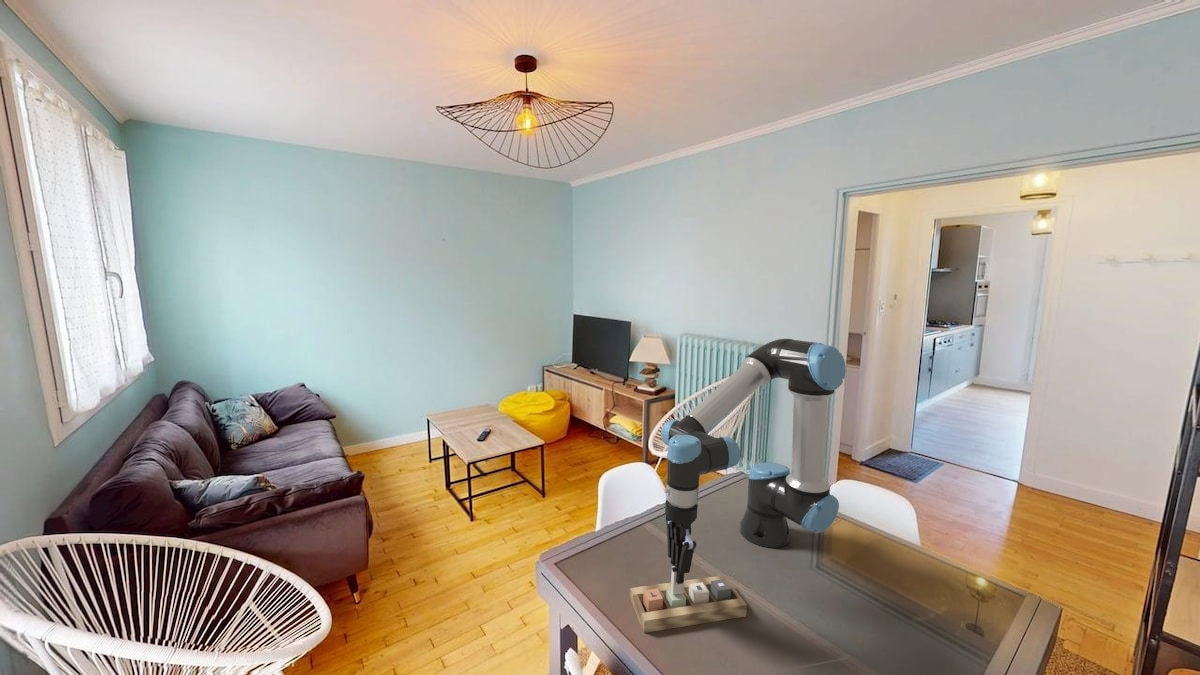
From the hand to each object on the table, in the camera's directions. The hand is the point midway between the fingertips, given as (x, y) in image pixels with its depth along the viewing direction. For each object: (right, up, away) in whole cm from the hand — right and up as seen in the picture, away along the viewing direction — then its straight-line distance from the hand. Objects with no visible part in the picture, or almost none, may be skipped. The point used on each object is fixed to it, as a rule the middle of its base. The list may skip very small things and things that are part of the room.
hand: (677, 591), depth 108 cm
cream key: (+6, -3, +2) cm, 7 cm away
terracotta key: (-6, -3, -1) cm, 7 cm away
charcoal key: (+11, -3, +3) cm, 12 cm away
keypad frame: (+3, -5, +1) cm, 5 cm away
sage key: (0, -4, 0) cm, 4 cm away
